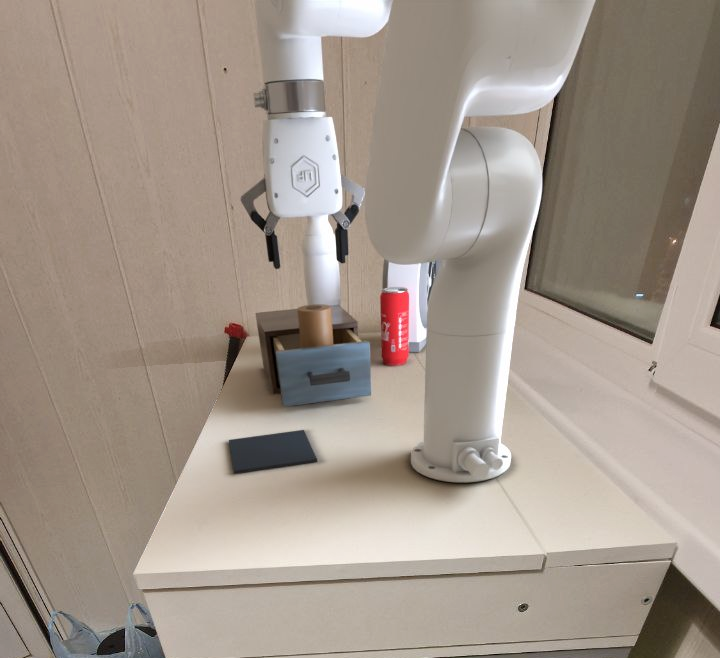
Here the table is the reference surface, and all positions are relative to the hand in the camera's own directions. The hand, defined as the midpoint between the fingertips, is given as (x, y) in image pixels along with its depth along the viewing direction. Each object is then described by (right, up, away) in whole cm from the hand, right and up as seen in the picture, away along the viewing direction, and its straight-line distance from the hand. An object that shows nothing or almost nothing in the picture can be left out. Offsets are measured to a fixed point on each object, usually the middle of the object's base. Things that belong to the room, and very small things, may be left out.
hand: (309, 264), depth 82 cm
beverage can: (+14, -2, +25) cm, 29 cm away
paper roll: (+1, -13, +11) cm, 17 cm away
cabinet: (-2, -6, +21) cm, 22 cm away
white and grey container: (+19, +6, +34) cm, 39 cm away
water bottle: (+1, +7, +36) cm, 37 cm away
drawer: (+1, -14, +11) cm, 18 cm away
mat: (-5, -29, -5) cm, 30 cm away
